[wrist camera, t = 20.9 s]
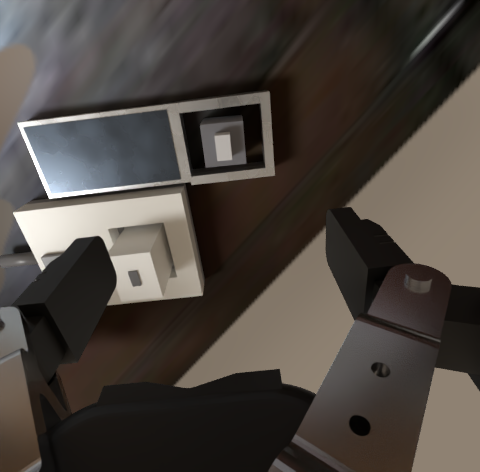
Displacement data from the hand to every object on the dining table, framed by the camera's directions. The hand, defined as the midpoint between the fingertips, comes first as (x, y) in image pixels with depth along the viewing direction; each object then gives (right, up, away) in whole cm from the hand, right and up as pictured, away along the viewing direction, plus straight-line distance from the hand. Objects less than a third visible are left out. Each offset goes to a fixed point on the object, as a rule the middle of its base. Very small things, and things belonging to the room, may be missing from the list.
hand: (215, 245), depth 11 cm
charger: (-9, -1, +22) cm, 24 cm away
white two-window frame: (-7, +9, +18) cm, 22 cm away
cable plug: (-1, +10, +18) cm, 21 cm away
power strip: (-14, -1, +23) cm, 28 cm away
